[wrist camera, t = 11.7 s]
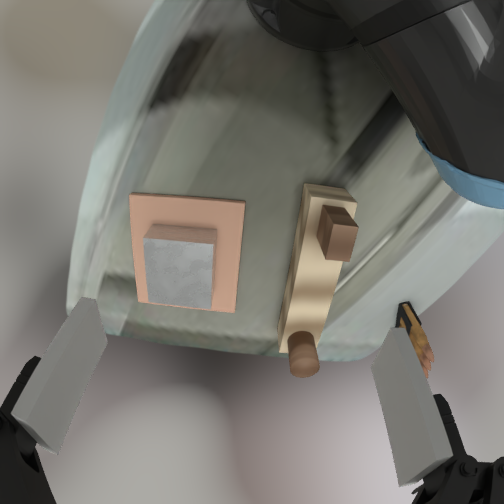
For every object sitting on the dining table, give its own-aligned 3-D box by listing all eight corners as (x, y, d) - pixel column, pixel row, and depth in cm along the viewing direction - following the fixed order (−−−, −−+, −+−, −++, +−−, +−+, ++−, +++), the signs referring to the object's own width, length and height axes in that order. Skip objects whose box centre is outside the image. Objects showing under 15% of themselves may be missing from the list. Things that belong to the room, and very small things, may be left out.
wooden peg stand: (304, 183, 35) (320, 214, 26) (344, 188, 35) (373, 221, 26) (277, 328, 45) (281, 380, 37) (309, 330, 46) (319, 381, 37)
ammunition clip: (398, 303, 43) (429, 358, 33) (409, 300, 43) (440, 355, 33) (390, 350, 48) (412, 403, 38) (400, 348, 48) (422, 400, 38)
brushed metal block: (153, 223, 37) (142, 237, 33) (217, 229, 37) (213, 244, 33) (156, 284, 41) (148, 302, 37) (214, 290, 41) (210, 309, 38)
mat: (131, 192, 36) (129, 195, 35) (245, 201, 36) (245, 203, 35) (140, 298, 43) (138, 301, 42) (235, 309, 44) (234, 312, 43)
